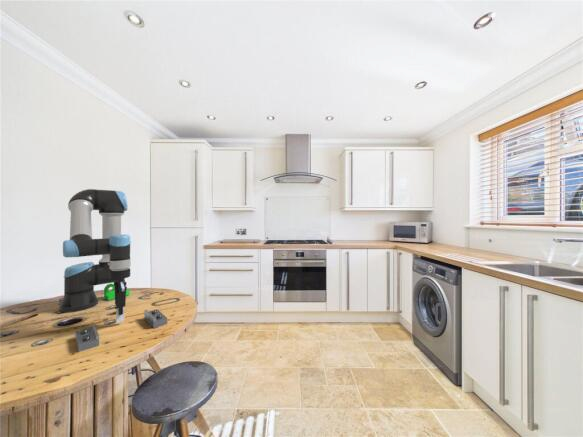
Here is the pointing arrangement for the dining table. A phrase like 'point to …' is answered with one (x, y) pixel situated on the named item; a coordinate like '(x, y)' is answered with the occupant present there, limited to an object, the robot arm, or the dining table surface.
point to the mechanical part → (111, 292)
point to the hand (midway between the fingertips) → (120, 321)
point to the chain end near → (87, 338)
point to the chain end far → (155, 318)
